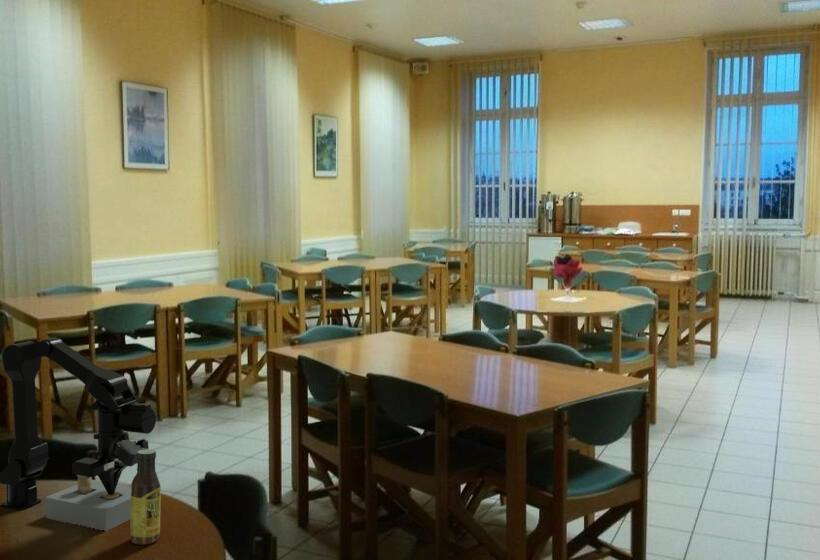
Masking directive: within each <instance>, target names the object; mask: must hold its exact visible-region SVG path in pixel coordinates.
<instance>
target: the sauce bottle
mask: <svg viewBox="0 0 820 560" xmlns="http://www.w3.org/2000/svg"><path fill="white" fill-rule="evenodd" d="M156 459H157V451H156V450H155V449H152V448H148V449H144V450H139V451H137V466H136V467H137V468H136V471H137V472H136V474H135V476H134V477H133V479H132V481H131V486H130V487H131V511H130V520H129V521H130V523H129V524H130V525H129V535H130V541H131V543H133V544H135V545H140V546H144V545H150V544H153V543H156V542H157V541H158V540H159V538H160V533H161V503H162V502H161V499H162V498H161V495H162V494H161V491H162V486H161V483H160V480H159V477H158V474H157V471H156Z"/></svg>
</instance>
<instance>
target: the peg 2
mask: <svg viewBox="0 0 820 560" xmlns="http://www.w3.org/2000/svg"><path fill="white" fill-rule="evenodd" d="M118 497H119V492H114V494H112V495H109V494H108V493H104V494H103V498H104V499H107V500H114V499H116V498H118Z"/></svg>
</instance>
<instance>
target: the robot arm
mask: <svg viewBox="0 0 820 560" xmlns="http://www.w3.org/2000/svg"><path fill="white" fill-rule="evenodd" d="M44 357H46V358H48V359H49V360H50V361H52V362H53V363H54V364H56V365H57V366H59V367H60V368H62V369H63V370H65V371H66V372H68V373H69V374H70V375H72V377H75V378H76V379H78V380H79V381H81V383H82V384H84V386H85V389H86V390H87V392H88V393H89V395H91V397H92V398H93V399H95V401H94V403H92V404H91V405H90V406H89V407H88V409H89V410H91V411H97V433H94V434H93V439H94V440H97V450H95V451H93V457H97V459H96V458H93V457H92V458H91V457H84V458H81V459H78V460H75V461H74V462H73V463H72V464H71V474H72V475H76V476H77V475H80V476H86V477H92V478H94V477H96V476H97V477H98V479H99V481H101V482H102V484H103V486H104V488H105V489H106V491H107V493H108V494H109V495H112V494H114V492H115V489H116V486H117V484H119V480H120V477H121V475H122V473H123V471H124V470H125V469H126V468H127V467H133V466H135V465H136V464H137V451H139V450H144V449H150V448H149V440H147V439H146V438H142V439H138V440H133V441H132V440H130V435H129V433H130V432H131V433H138V434H144V435H145V434H150V433H152V432H153V430H154V429H155V427H156V423H157V415H156V413H155V411H154V409H152V407H151V406H152V405H151V403H149V402H148V403H147V402H145V403H141V402H139V401H138V399H137V397H136V395H135V393H134V392H133V390H132V389H131V387H130V386H129V384H128V379H127V378H126V377H125V376H124V375H123V374H121V373H118V372H116V371H113V370H111V369H107V368H103V367H101V366H98V365H96V364H95V363H94V362H92V361H91V360H90V359H87V357H84V356H83V355H82V354H81V353H79V352H78V351H76V350H75V349H73V348H72V347H70V346H69V345H68V344H66V343H64V341H63V340H62V339H61V338H59V337H55V336H54V337H50V338H45V339H41V341H37V342H34V341H33V340H32V341H31V340H30V341H29V340H28V341H24V342H18V343H14V344H10V345H7V346H6V347H5V348H4V349H3V350H2V353H1V360H2V364H3V369H4V372H5V373H6V374H7V376H8V377H9V379H10V380H11V386H12V387H11V388H12V404H13V405H12V406H13V420H14V421H13V422H14V423H13V424H14V436H15V437H14V441H13V443H12V446H11V448H10V450H9V453H8V461H7V462H8V464H7V466H6V467H5V468H3V470H1V472H0V484H2V485H6V501H5V502H2V503H0V504H1V506H2V507H6V508H10V509H15V510H24V509H27V508H29V507H30V506H33V505H36V504H39V503H41V502H42V499H41V498H38V485H37V478H36V477H38V476H42V473H43V470H44V468H45V467H46V466H47V465H48V460H49V459H50V456H49V444H48V442H43V441H42V440H41V439H40V438H39V433H38V432H39V430H38V413H37V396H36V395H37V394H36V376H37V375H38V373H39V371H40V368H41V366H42V365H41V364H42V358H44Z"/></svg>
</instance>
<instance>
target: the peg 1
mask: <svg viewBox="0 0 820 560" xmlns="http://www.w3.org/2000/svg"><path fill="white" fill-rule="evenodd" d="M76 477H77V484H78V494H83V495H86V494H89V493H91V492H92V478H93V477H86V476H80V475H76Z"/></svg>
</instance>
